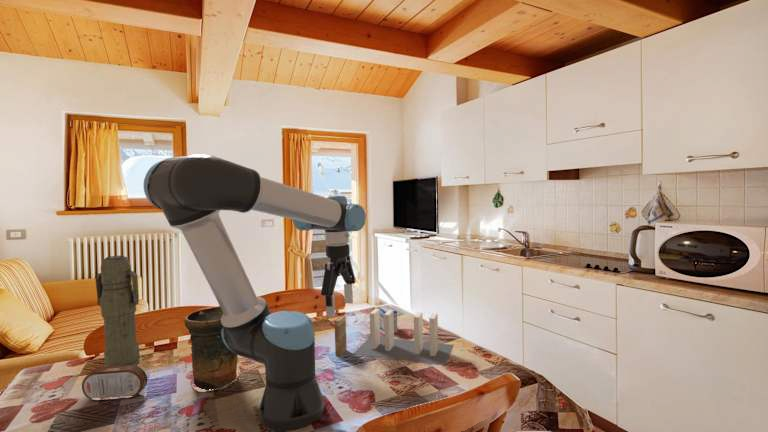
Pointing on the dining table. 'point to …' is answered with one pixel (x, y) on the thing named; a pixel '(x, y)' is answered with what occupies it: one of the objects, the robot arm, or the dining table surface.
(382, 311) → the medicine box
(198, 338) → the vessel
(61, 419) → the dining table surface
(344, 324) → the oak domino
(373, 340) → the domino
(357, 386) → the dining table surface
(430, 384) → the dining table surface
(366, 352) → the mat
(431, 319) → the domino
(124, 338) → the stone statue
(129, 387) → the tin
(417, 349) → the domino
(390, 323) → the domino
